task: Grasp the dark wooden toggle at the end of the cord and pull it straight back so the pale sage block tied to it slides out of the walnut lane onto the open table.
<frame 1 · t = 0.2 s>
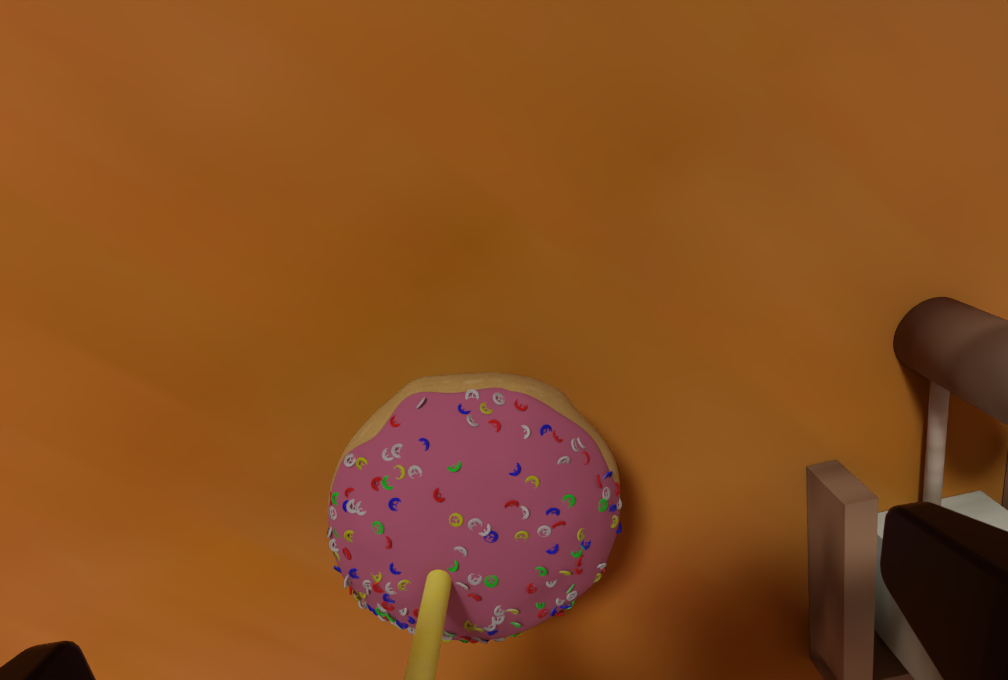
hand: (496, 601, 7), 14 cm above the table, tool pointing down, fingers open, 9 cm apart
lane: (918, 543, 26), on the table
block with cord: (917, 552, 26), on the table
cupcake: (469, 431, 23), on the table
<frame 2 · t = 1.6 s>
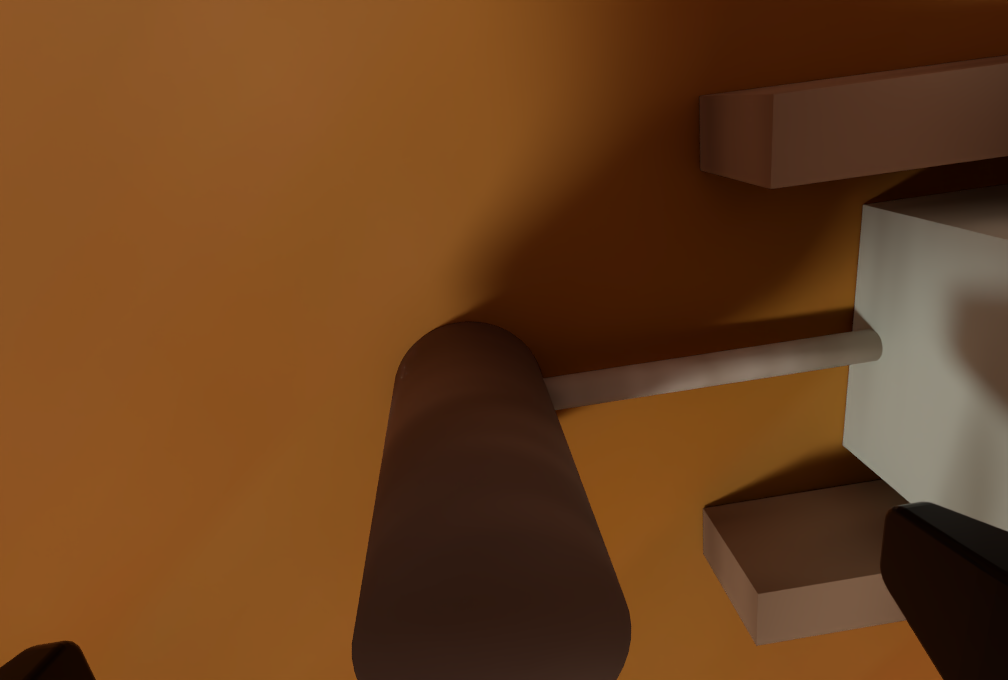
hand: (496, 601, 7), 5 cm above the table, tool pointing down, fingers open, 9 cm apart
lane: (951, 319, 12), on the table
block with cord: (975, 315, 12), on the table
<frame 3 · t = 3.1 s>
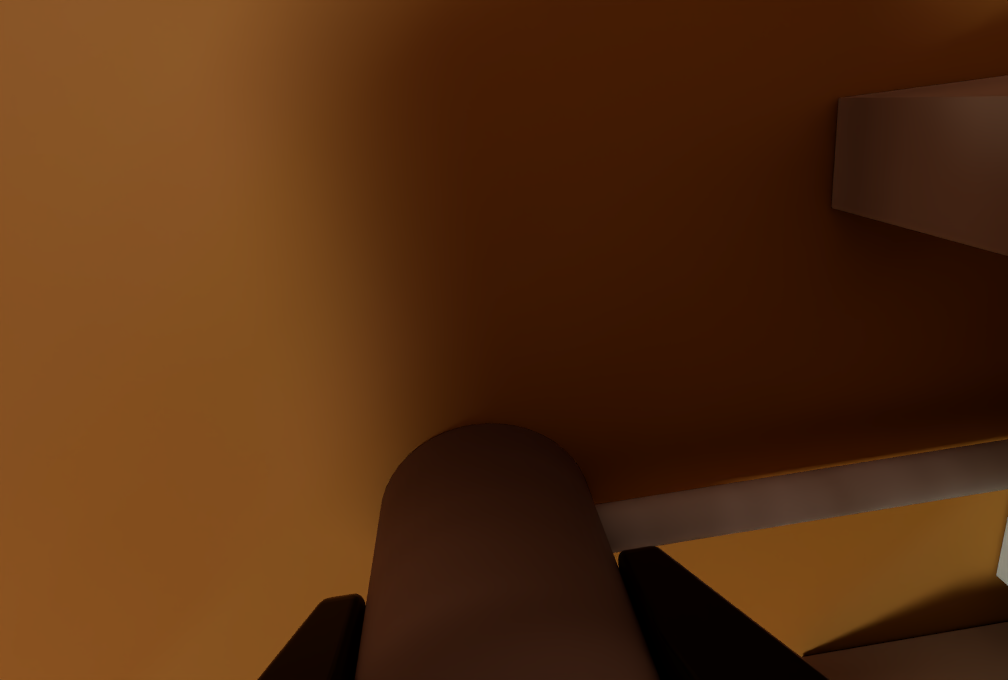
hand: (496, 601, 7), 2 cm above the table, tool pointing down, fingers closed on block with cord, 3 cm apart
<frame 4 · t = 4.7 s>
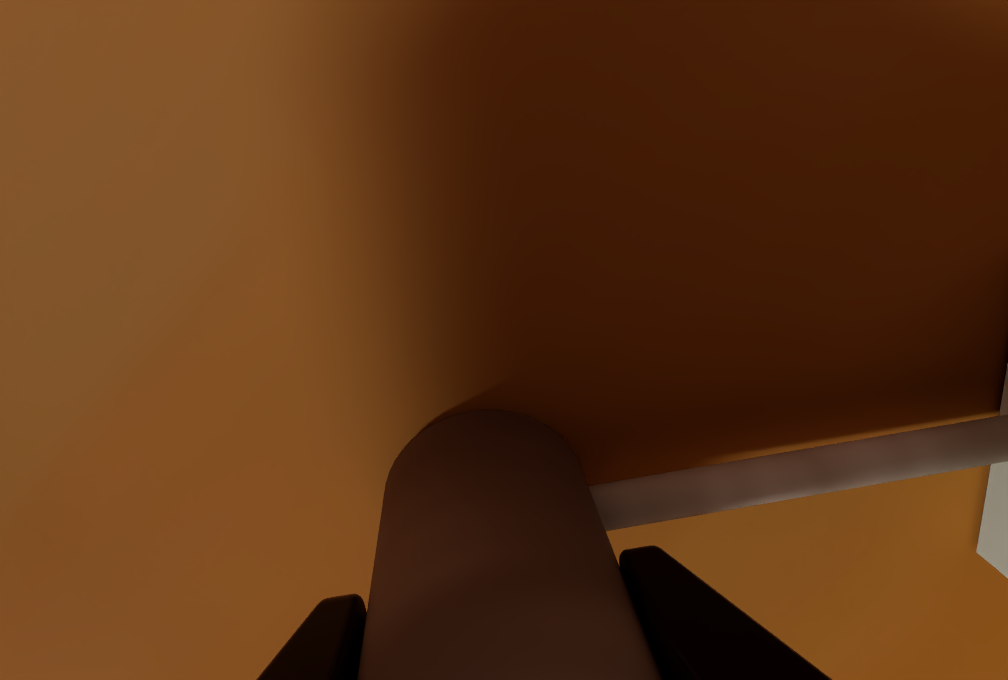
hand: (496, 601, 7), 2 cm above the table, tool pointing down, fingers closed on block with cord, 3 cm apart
when the fingers open (2 cm above the table, at t = 6.1 s): block with cord stays where it is, on the table.
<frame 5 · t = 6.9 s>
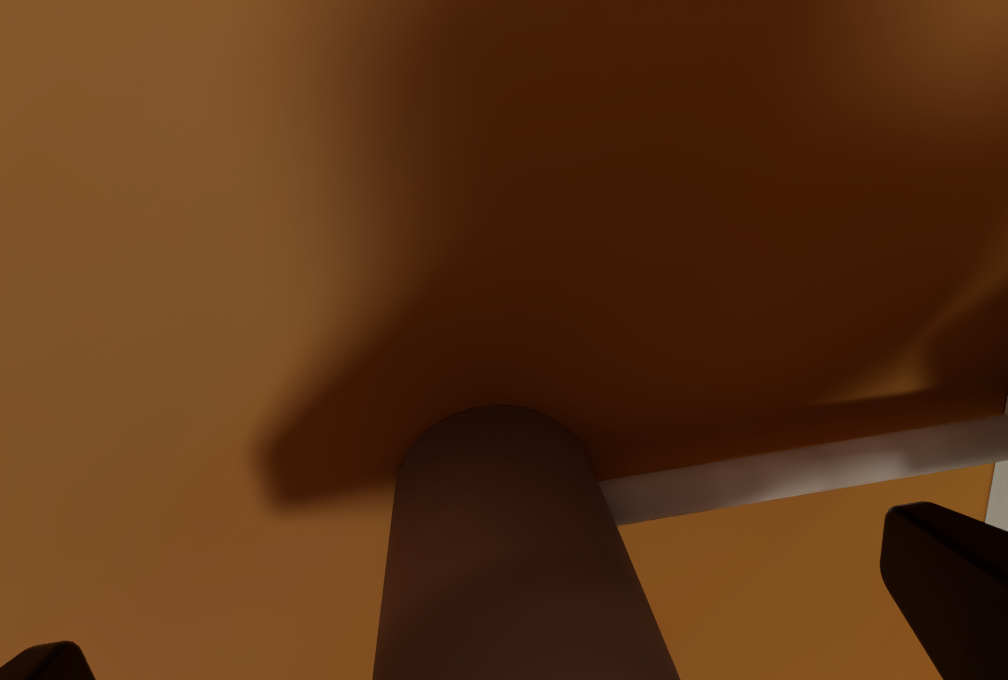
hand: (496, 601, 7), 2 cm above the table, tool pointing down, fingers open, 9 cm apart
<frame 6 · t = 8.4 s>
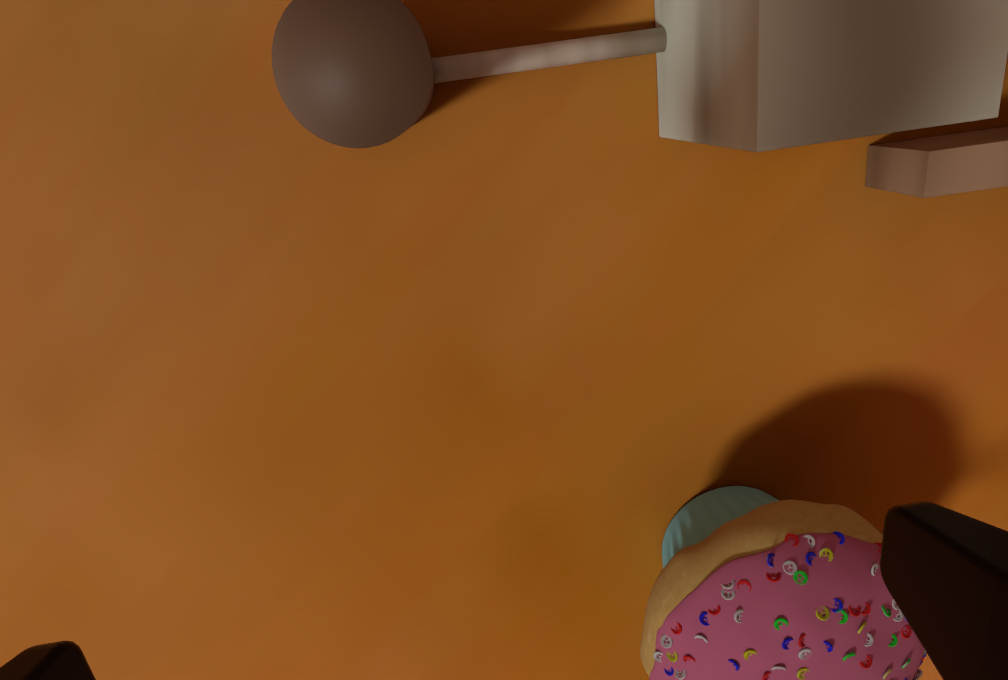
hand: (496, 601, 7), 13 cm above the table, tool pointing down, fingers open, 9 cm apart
block with cord: (745, 29, 17), on the table
cupcake: (717, 535, 24), on the table
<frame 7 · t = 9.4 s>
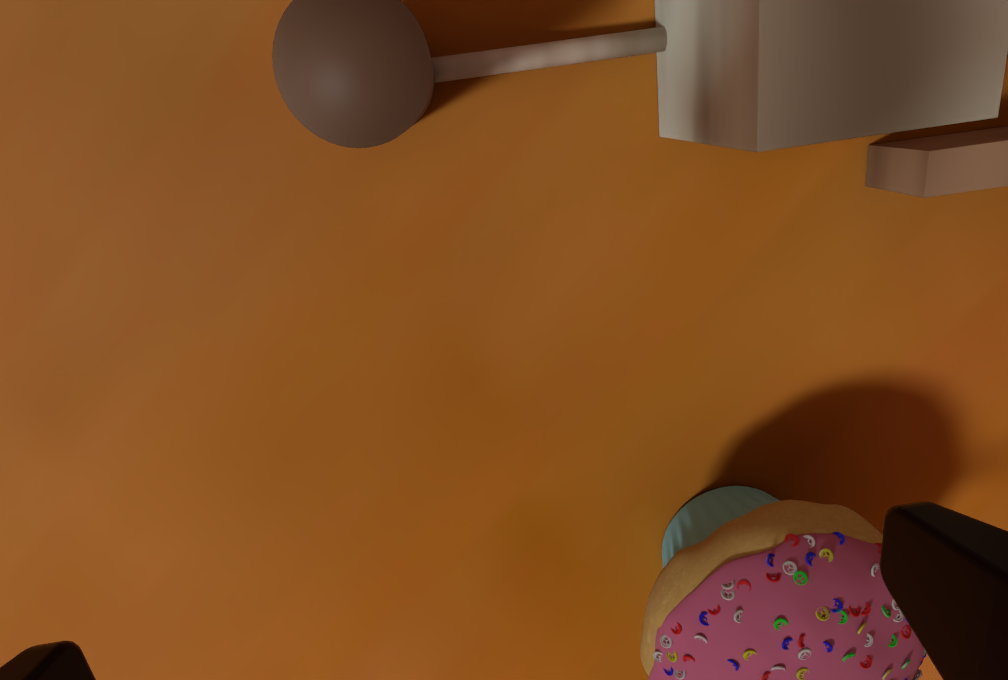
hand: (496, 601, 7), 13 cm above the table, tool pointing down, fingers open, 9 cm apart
block with cord: (745, 29, 17), on the table
cupcake: (717, 534, 24), on the table
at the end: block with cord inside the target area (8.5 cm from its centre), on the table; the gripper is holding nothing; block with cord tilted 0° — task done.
